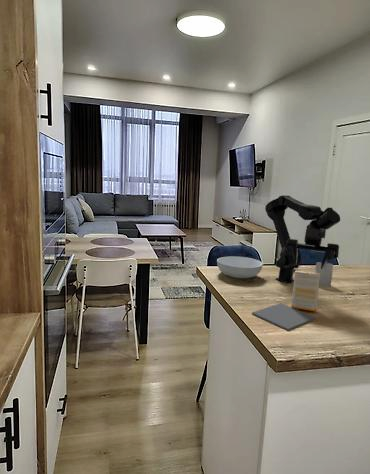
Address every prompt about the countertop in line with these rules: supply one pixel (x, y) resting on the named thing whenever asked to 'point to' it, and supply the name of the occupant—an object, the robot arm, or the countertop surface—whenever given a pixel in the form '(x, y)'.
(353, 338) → the countertop surface
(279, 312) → the mat
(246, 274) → the serving bowl
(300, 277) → the supplement box
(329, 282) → the grey angular block
